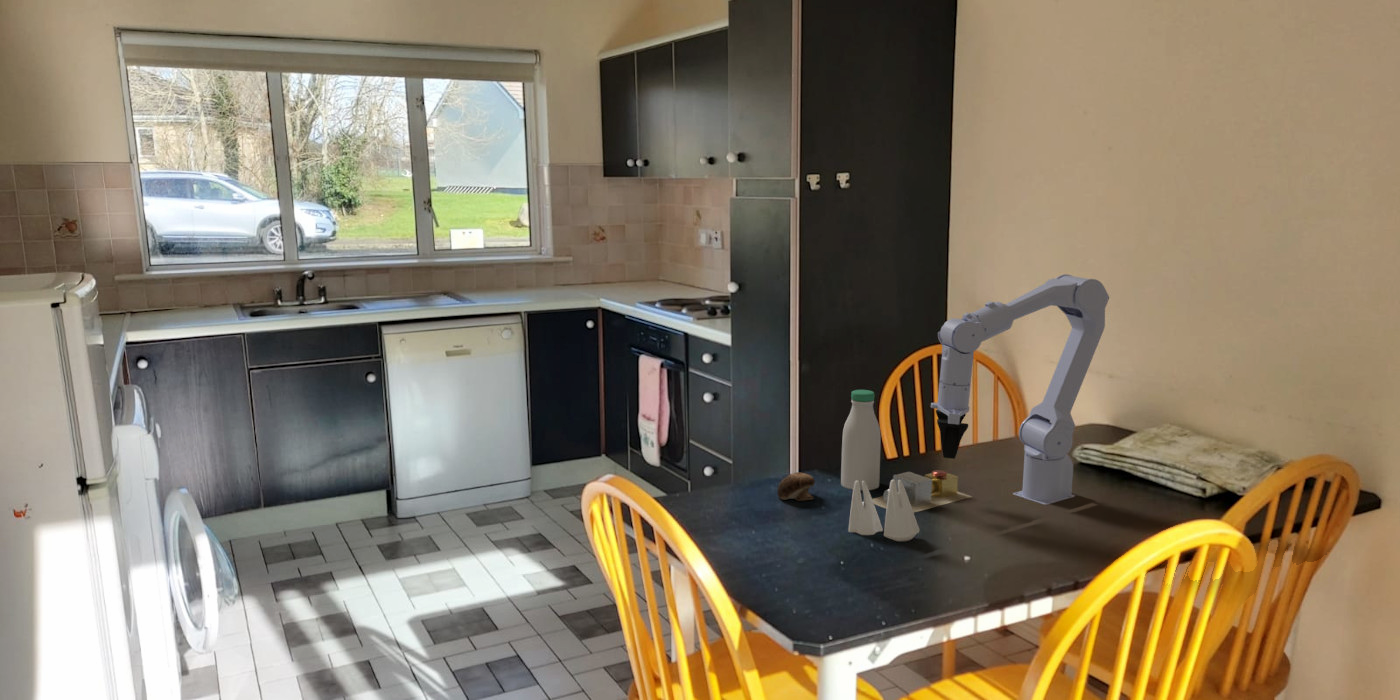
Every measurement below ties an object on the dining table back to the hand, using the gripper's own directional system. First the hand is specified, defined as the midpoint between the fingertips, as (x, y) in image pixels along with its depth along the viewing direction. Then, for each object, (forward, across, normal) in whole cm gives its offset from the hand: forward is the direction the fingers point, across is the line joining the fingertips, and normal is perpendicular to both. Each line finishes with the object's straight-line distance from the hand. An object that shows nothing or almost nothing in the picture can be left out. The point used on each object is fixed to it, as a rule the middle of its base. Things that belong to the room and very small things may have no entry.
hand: (948, 452), depth 187 cm
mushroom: (+12, +2, -28) cm, 31 cm away
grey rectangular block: (+10, +1, -7) cm, 13 cm away
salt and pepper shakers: (+12, +19, -11) cm, 25 cm away
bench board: (+11, -2, -4) cm, 12 cm away
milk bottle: (+12, -8, -16) cm, 22 cm away
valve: (+10, -5, -1) cm, 11 cm away
